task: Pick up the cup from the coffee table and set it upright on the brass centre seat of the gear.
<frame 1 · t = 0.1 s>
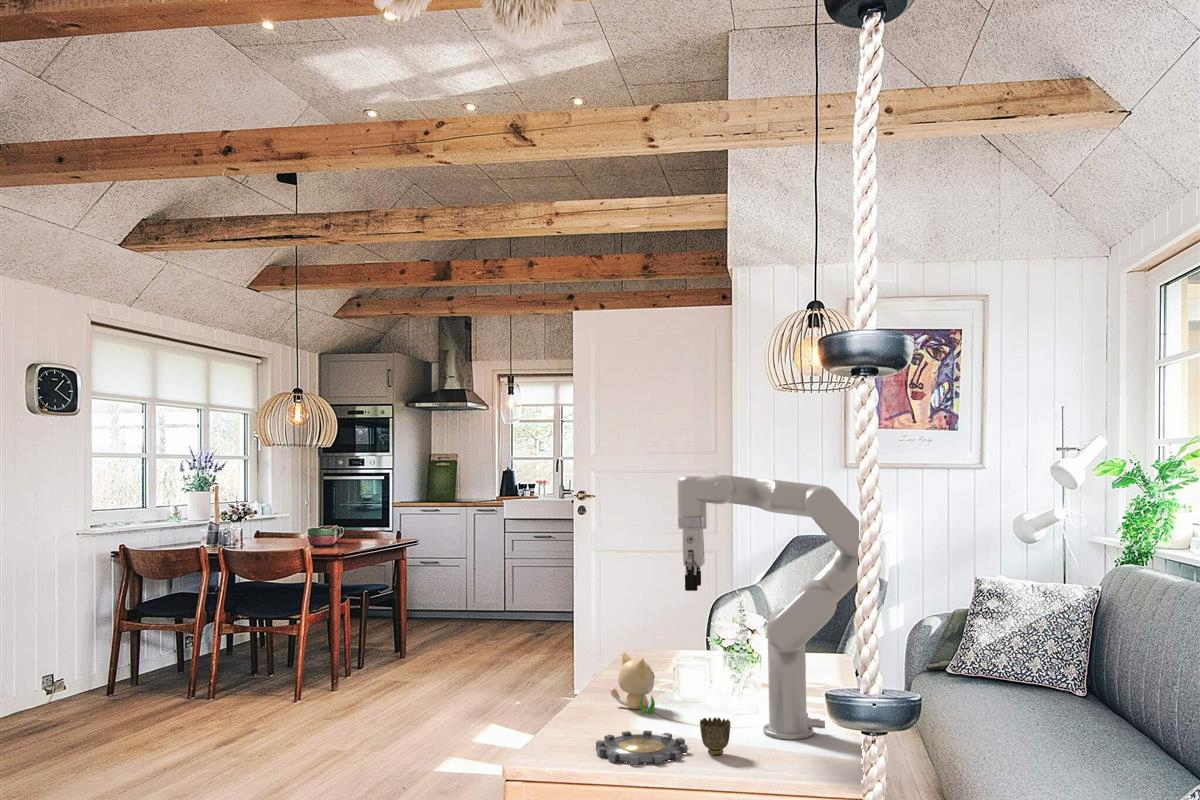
hand: (693, 588, 258), 37 cm above the table, tool pointing down, fingers open, 9 cm apart
kitten: (637, 709, 277), on the table
cup: (715, 755, 234), on the table
gear: (641, 751, 238), on the table
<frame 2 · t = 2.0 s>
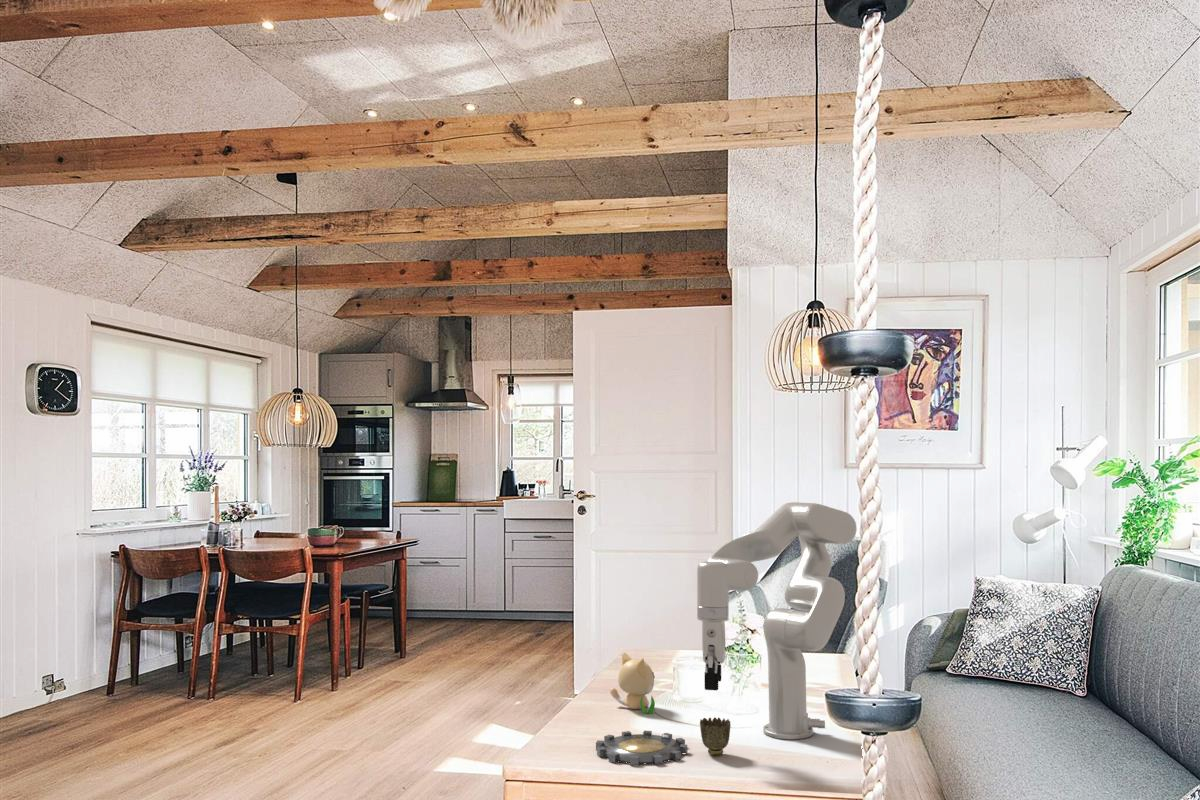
hand: (713, 685, 235), 17 cm above the table, tool pointing down, fingers open, 9 cm apart
nothing on the table moved.
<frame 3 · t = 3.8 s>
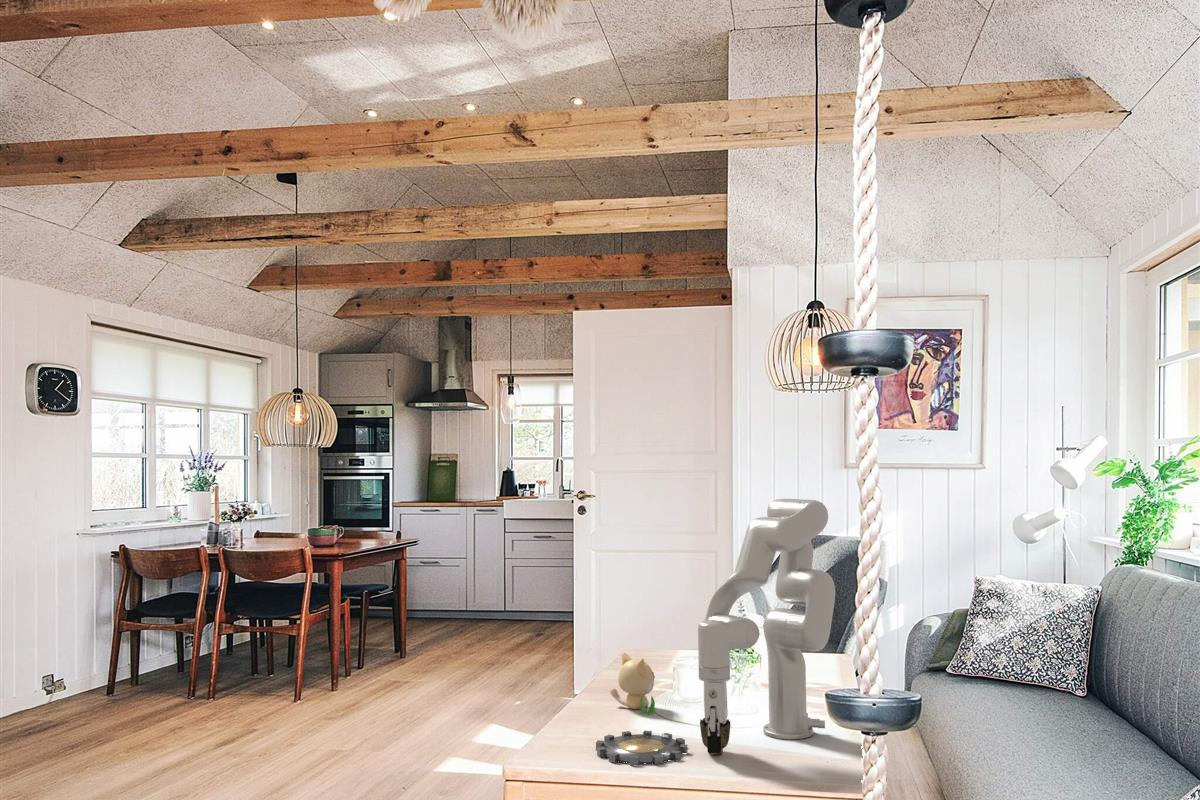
hand: (715, 747, 234), 2 cm above the table, tool pointing down, fingers closed on cup, 6 cm apart
cup: (715, 755, 234), on the table, touching gripper
everything else where it was.
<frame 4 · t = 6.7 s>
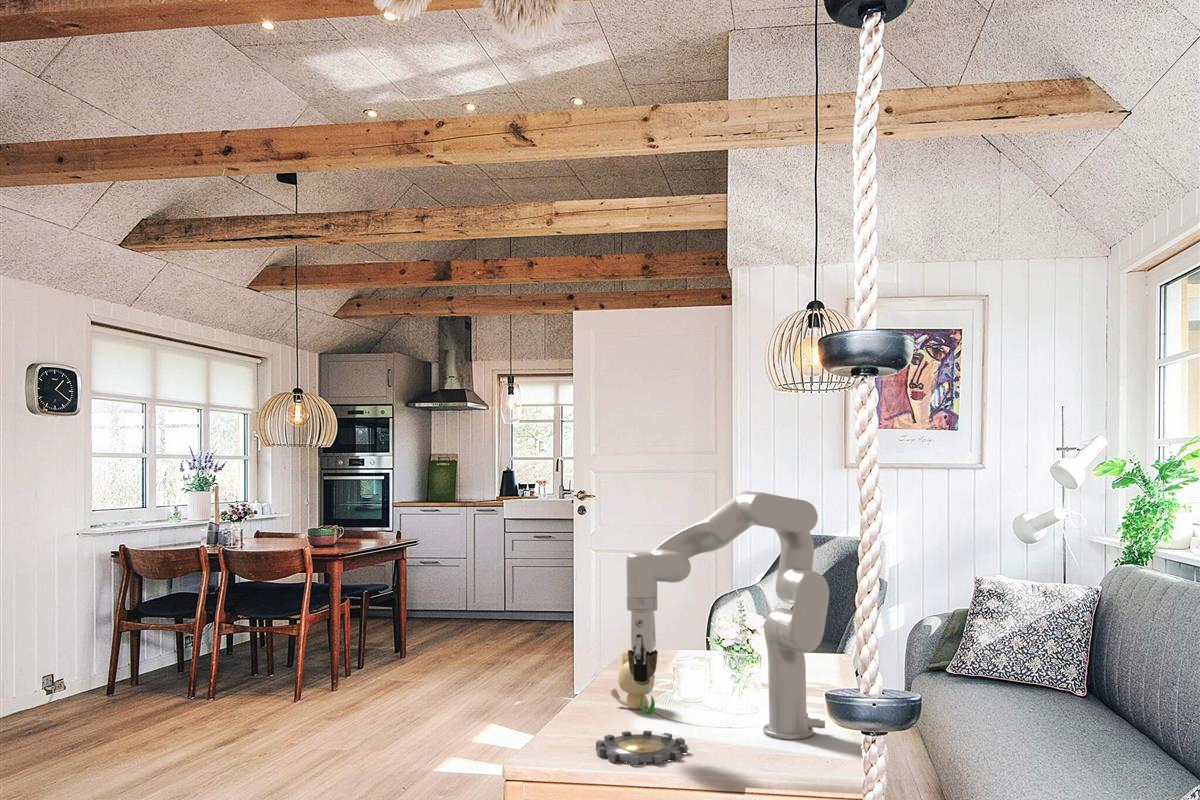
hand: (642, 676, 239), 18 cm above the table, tool pointing down, fingers closed on cup, 6 cm apart
cup: (642, 684, 238), point 16 cm above the table, touching gripper
everything else where it was.
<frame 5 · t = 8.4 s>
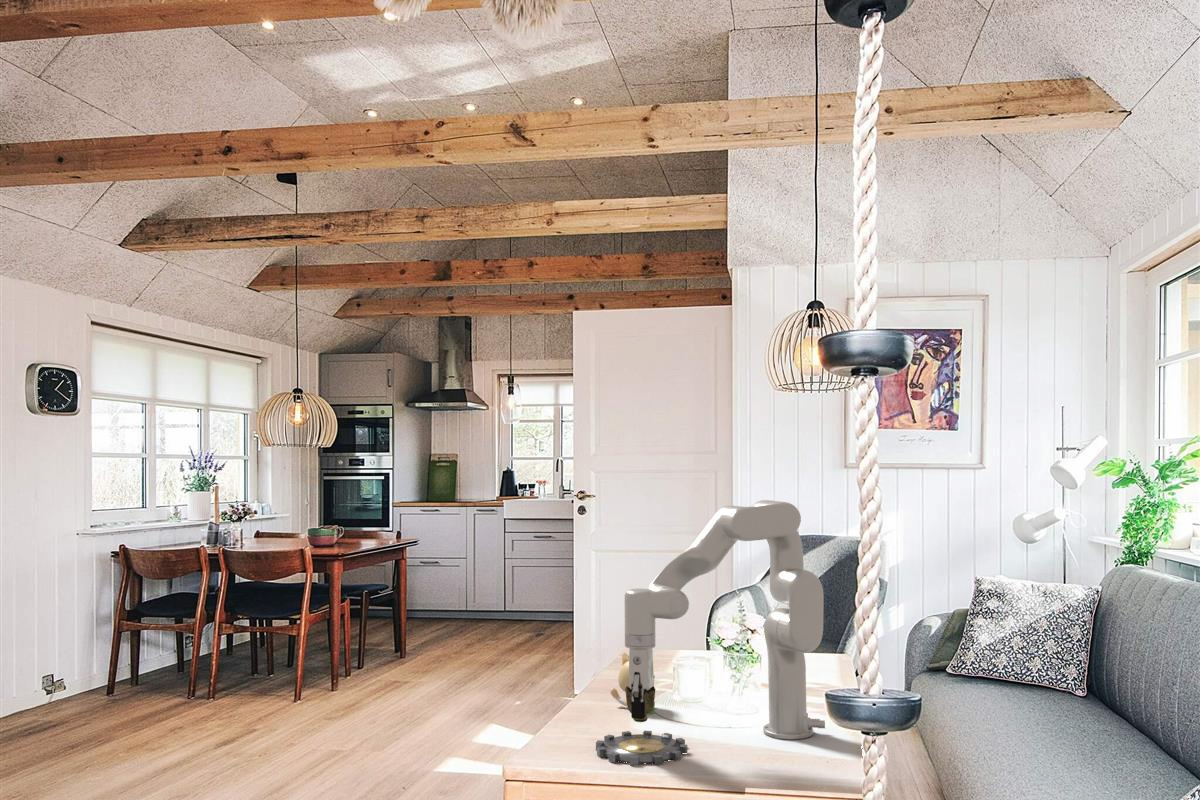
hand: (640, 713, 238), 9 cm above the table, tool pointing down, fingers closed on cup, 6 cm apart
cup: (640, 721, 238), point 7 cm above the table, touching gripper
everything else where it was.
when the fingers open (5 cm above the table, at t = 9.8 s): cup drops 1 cm, resting on gear.
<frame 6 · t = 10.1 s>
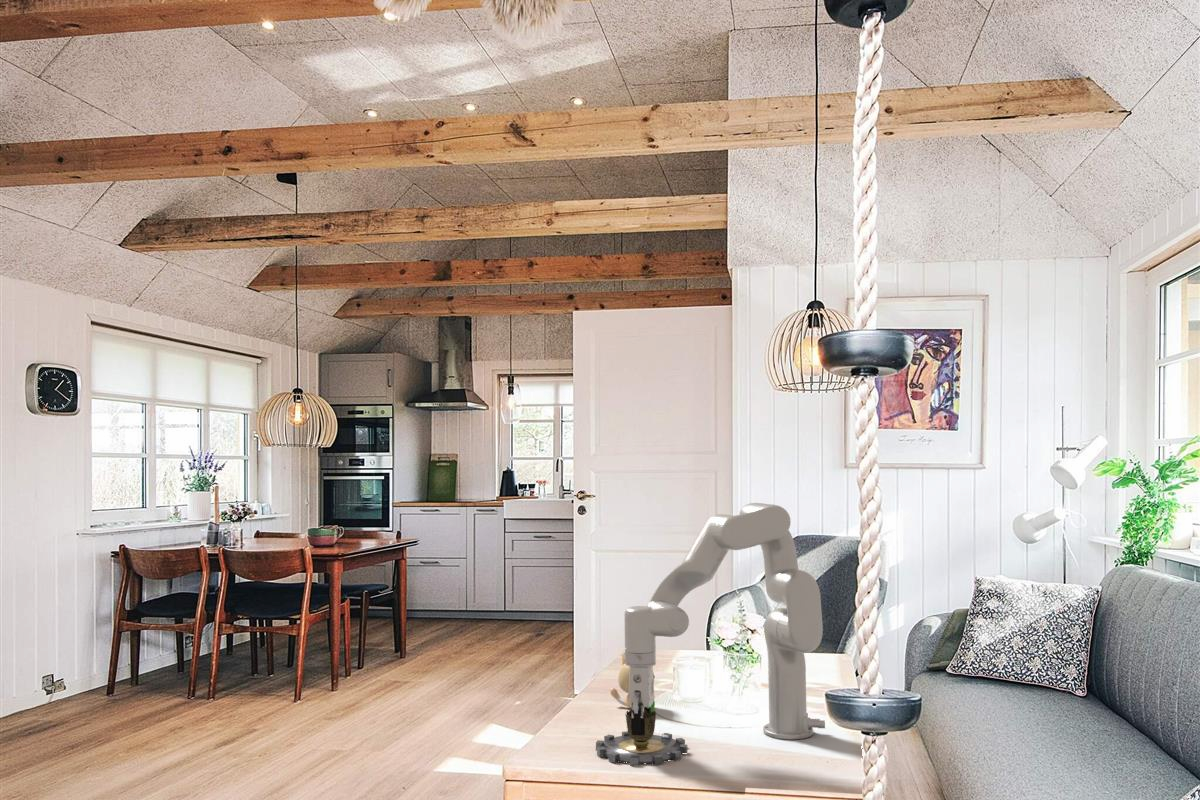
hand: (641, 729, 238), 5 cm above the table, tool pointing down, fingers open, 9 cm apart
cup: (641, 746, 237), point 1 cm above the table, touching gear
everything else where it was.
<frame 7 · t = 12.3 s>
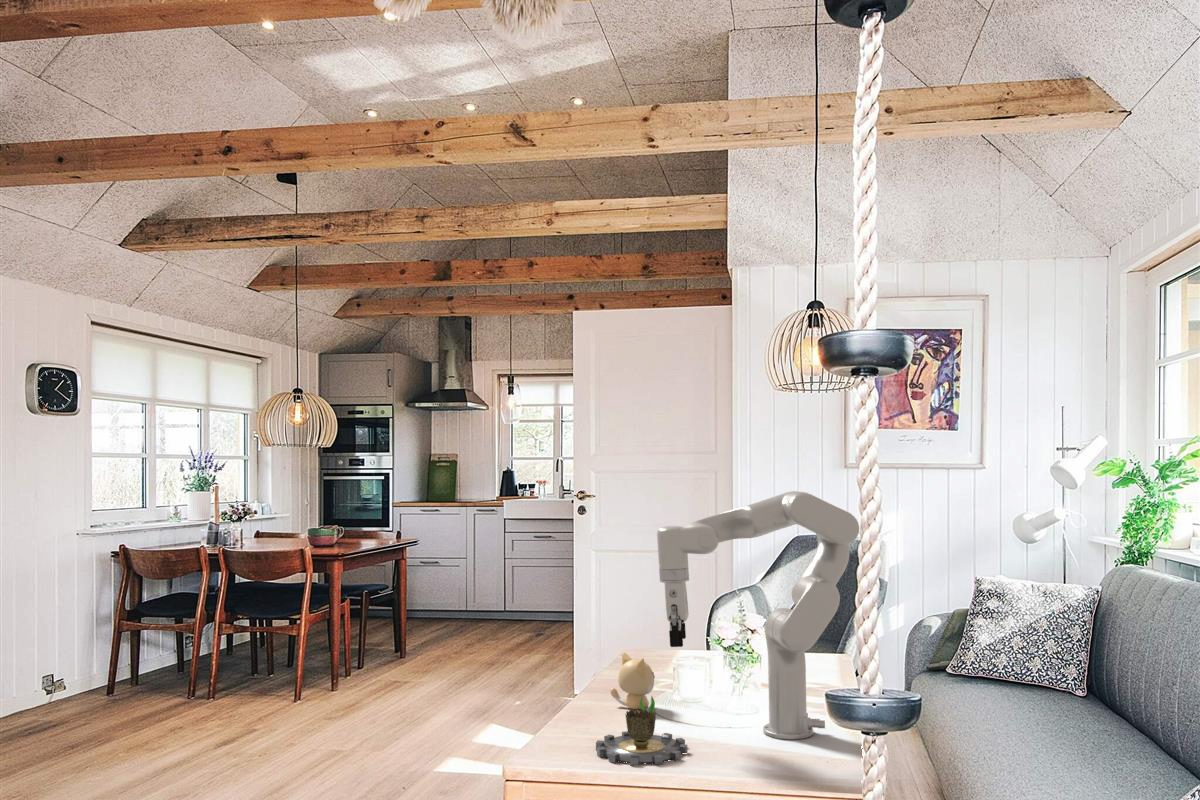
hand: (678, 642, 249), 24 cm above the table, tool pointing down, fingers open, 9 cm apart
nothing on the table moved.
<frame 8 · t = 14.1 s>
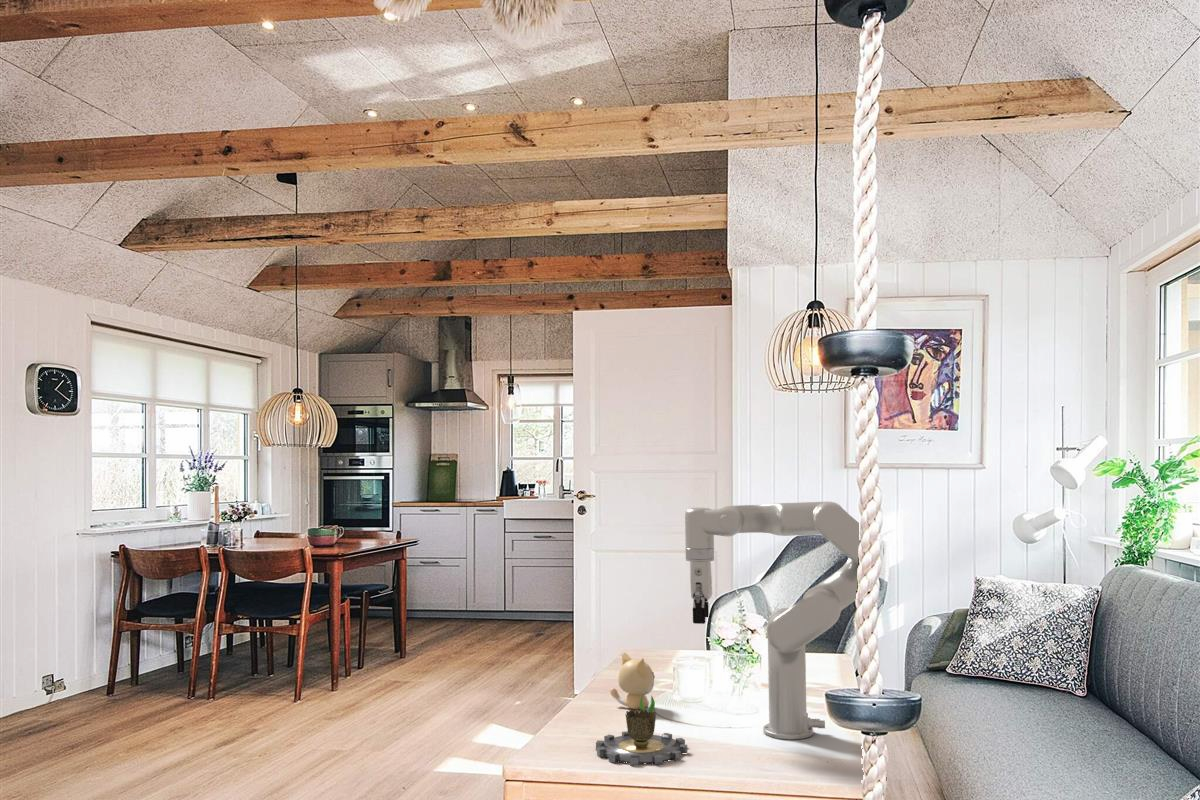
hand: (700, 620, 257), 28 cm above the table, tool pointing down, fingers open, 9 cm apart
nothing on the table moved.
at the end: cup 0.6 cm off-centre on the gear, point 1.2 cm above the gear's base; cup tilted 0°; the gripper is holding nothing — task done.
